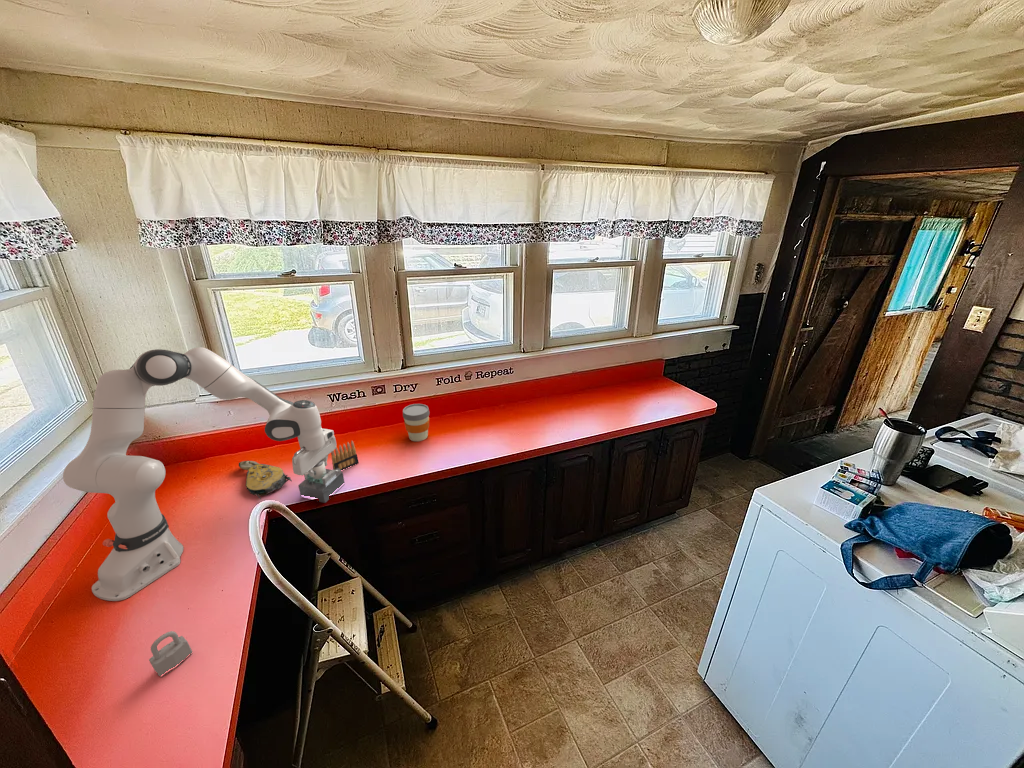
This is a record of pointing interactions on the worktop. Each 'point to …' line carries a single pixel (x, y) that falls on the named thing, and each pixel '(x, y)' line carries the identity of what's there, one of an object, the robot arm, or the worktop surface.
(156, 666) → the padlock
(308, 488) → the motor
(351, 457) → the ammunition clip
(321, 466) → the white domed cylinder
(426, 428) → the reusable coffee cup
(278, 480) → the pulley block
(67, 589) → the worktop surface
